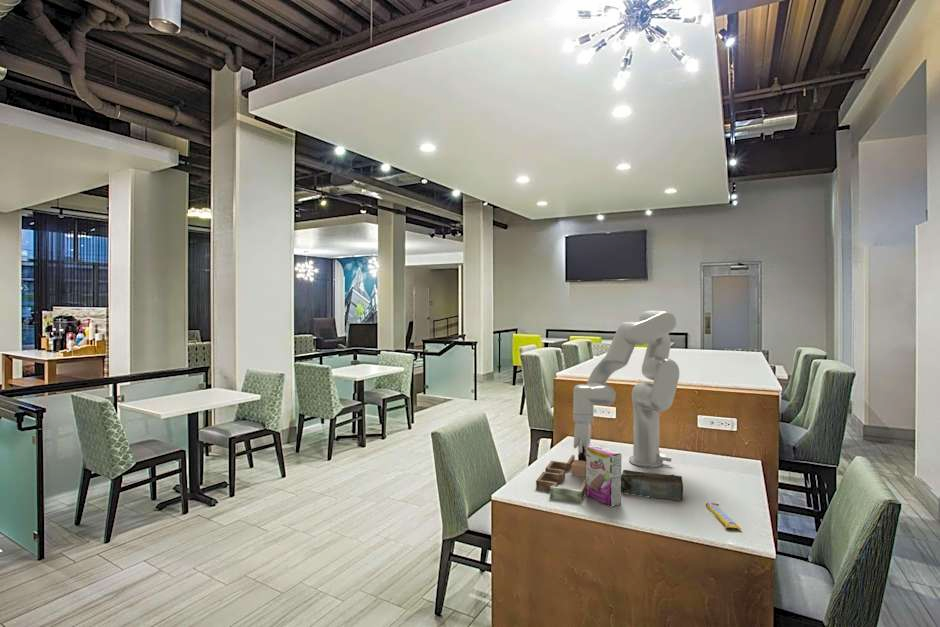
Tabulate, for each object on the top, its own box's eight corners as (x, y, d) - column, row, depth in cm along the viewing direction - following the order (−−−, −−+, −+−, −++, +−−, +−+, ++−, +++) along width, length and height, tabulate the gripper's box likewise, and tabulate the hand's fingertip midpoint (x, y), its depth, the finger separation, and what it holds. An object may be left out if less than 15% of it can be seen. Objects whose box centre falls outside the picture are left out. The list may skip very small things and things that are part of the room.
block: (588, 472, 185) (588, 461, 185) (584, 477, 180) (584, 466, 180) (575, 470, 187) (575, 459, 187) (571, 475, 182) (571, 464, 182)
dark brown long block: (622, 485, 172) (622, 466, 172) (682, 494, 165) (683, 474, 164) (620, 493, 165) (620, 474, 164) (683, 503, 157) (683, 482, 157)
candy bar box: (584, 495, 162) (584, 446, 162) (595, 492, 165) (595, 443, 165) (610, 507, 153) (611, 455, 153) (621, 504, 156) (622, 452, 155)
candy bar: (704, 507, 154) (704, 501, 154) (718, 508, 154) (718, 502, 154) (726, 532, 138) (726, 526, 138) (742, 533, 137) (742, 526, 137)
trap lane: (598, 465, 192) (598, 456, 192) (581, 502, 157) (581, 491, 157) (557, 460, 198) (557, 451, 198) (531, 495, 163) (532, 484, 163)
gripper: (577, 412, 198) (576, 458, 198) (569, 420, 184) (569, 469, 184) (596, 414, 195) (595, 460, 195) (590, 422, 181) (589, 472, 181)
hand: (582, 465), depth 190 cm, fingers closed
